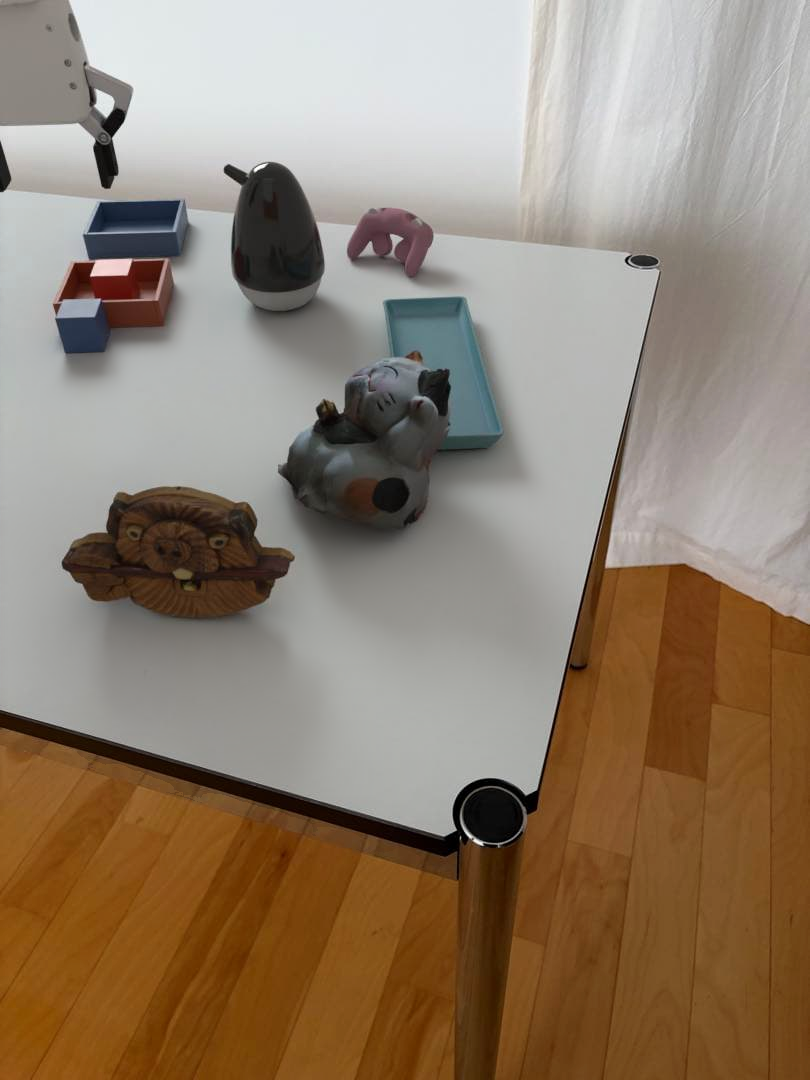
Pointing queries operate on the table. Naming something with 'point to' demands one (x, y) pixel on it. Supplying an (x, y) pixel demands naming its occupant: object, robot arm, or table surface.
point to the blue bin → (136, 228)
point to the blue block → (82, 325)
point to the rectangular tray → (448, 363)
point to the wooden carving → (178, 554)
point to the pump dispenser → (274, 239)
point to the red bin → (124, 313)
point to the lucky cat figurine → (374, 444)
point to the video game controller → (378, 231)
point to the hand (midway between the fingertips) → (56, 185)
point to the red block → (114, 279)
